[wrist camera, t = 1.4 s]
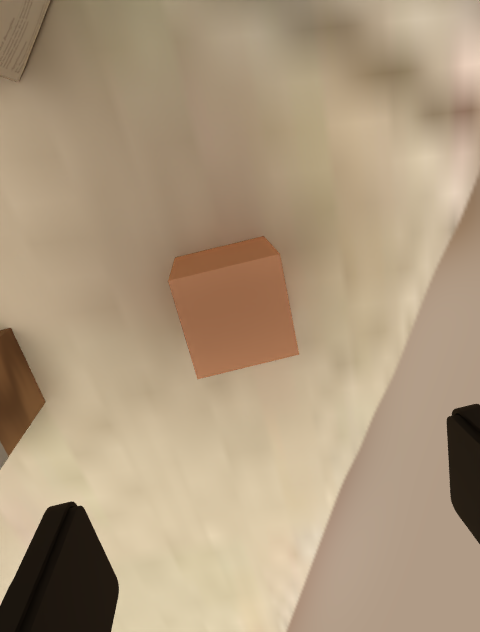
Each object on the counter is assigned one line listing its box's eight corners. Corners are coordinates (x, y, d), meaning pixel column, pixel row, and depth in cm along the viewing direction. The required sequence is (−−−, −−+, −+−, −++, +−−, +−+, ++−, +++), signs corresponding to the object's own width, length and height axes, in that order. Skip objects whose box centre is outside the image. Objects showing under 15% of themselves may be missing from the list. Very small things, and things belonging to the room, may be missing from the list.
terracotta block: (175, 257, 27) (168, 281, 21) (263, 235, 27) (279, 253, 21) (198, 338, 29) (197, 379, 23) (280, 318, 29) (298, 354, 23)
